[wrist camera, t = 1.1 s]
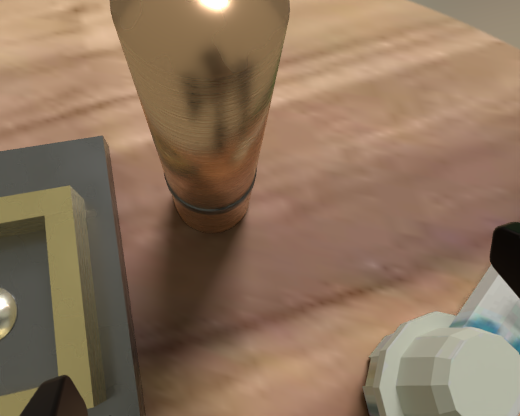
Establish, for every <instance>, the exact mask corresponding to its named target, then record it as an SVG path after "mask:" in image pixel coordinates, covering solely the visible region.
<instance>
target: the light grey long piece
mask: <svg viewBox="0 0 520 416" xmlns="http://www.w3.org/2000/svg"><path fill="white" fill-rule="evenodd" d="M369 358H370V359H371V361H370V366H369V370H368V375H367V380H366V385H365V386H362V387H363V391H364V395H365V399H366V403H367V407H368V411H369V415H370V416H518V414H519V412H520V299H519V298H518V296H517V295H516V294H515V293H514V292H513V290H512V289H511V288H510V287H509V286H508V285H507V283H506V282H505V281H504V280H503V279H502V277H501V276H500V275H499V274H498V273H497V272H496V270H495V269H494V268H493V266H492V264H491V266H490V267H489V269H488V270H487V272H486V273H485V275H484V276H483V278H482V279H481V281H480V282H479V284H478V285H477V287H476V288H475V290H474V291H473V293H472V294H471V295H470V297H469V298H468V300H467V301H466V303H465V304H464V306H463V307H462V309H461V310H460V312H459V313H458V315H457V316H455V315H450V314H446V313H441V312H437V311H436V312H432V313H428V314H426V315H423V316H421V317H418V318H416V319H413V320H410V321H408V322H405V323H403V324H400V326H399V327H398V328H397V330H396V331H395V332H394V333H393V334H390V335H387V336H385V337H384V338H383V339H382V341H381V342H380V343H379V344H378V346H377V347H376V348H375V350H374V351H373V352H372V353H371V355H370V356H369Z"/></svg>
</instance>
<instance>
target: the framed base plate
mask: <svg viewBox="0 0 520 416" xmlns="http://www.w3.org/2000/svg"><path fill="white" fill-rule="evenodd" d="M61 375H68V376H69V377H70V378H71V380H72V381H73V383H74V385H75V386H76V388H77V390H78V391H79V393H80V395H81V396H82V398H83V400H84V402H85V404H86V407H87V411H88V416H145V408H144V401H143V394H142V387H141V379H140V372H139V365H138V357H137V350H136V343H135V335H134V328H133V321H132V313H131V306H130V299H129V292H128V284H127V277H126V270H125V262H124V255H123V248H122V240H121V233H120V226H119V219H118V211H117V204H116V197H115V189H114V182H113V175H112V167H111V160H110V153H109V146H108V144H107V142H106V140H105V139H104V137H103V136H97V137H91V138H84V139H78V140H71V141H65V142H58V143H52V144H45V145H39V146H33V147H26V148H20V149H13V150H7V151H0V416H19V415H20V414H21V412H22V411H23V409H24V408H25V406H26V405H27V404H28V402H29V401H30V399H31V398H32V396H33V395H34V393H35V392H36V390H37V389H38V387H39V386H40V385H41V384H42V383H43V382H45V381H47V380H49V379H52V378H55V377H58V376H61Z"/></svg>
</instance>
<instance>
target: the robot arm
mask: <svg viewBox="0 0 520 416" xmlns="http://www.w3.org/2000/svg"><path fill="white" fill-rule="evenodd" d="M490 262H491V264H492V266H493V268H494V269H495V270H496V272H497V273H498V274H499V275H500V276H501V277H502V279H503V280H504V281H505V282H506V283H507V285H508V286H509V287H510V288H511V289H512V290H513V292H514V293H515V294H516V295H517V296H518V298H519V299H520V223H519V222H510V223H507V224H504V225H501V226H498V227H497V228H495V230H494V232H493V237H492V244H491V251H490ZM19 416H88V411H87V407H86V404H85V402H84V400H83V398H82V396H81V395H80V393H79V391H78V390H77V388H76V386H75V385H74V383H73V381H72V380H71V378H70V377H69V376H68V375H61V376H58V377H55V378H52V379H49V380H47V381H45V382H43V383H42V384H41V385H40V386H39V387H38V389H37V390H36V392H35V393H34V395H33V396H32V398H31V399H30V401H29V402H28V404H27V405H26V406H25V408H24V409H23V411H22V412H21V414H20V415H19Z"/></svg>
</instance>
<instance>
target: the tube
mask: <svg viewBox="0 0 520 416" xmlns="http://www.w3.org/2000/svg"><path fill="white" fill-rule="evenodd" d="M110 9H111V14H112V19H113V22H114V25H115V28H116V31H117V34H118V37H119V40H120V43H121V46H122V49H123V52H124V55H125V58H126V61H127V63H128V66H129V69H130V72H131V75H132V78H133V81H134V84H135V87H136V90H137V93H138V96H139V99H140V102H141V105H142V108H143V111H144V114H145V117H146V120H147V123H148V126H149V129H150V132H151V135H152V138H153V140H154V143H155V146H156V149H157V152H158V155H159V158H160V161H161V164H162V167H163V170H164V176H165V180H166V183H167V185H168V188H169V190H170V192H171V194H172V197H173V200H174V203H175V206H176V209H177V211H178V213H179V215H180V217H181V218H182V219H183V221H184V222H185V223H186V224H188V225H189V226H190V227H192V228H194V229H196V230H198V231H201V232H205V233H219V232H223V231H226V230H228V229H230V228H232V227H234V226H235V225H236V224H237V223H238V222H239V221H240V220H241V219H242V218H243V216H244V215H245V213H246V211H247V208H248V204H249V200H250V195H251V191H252V188H253V185H254V182H255V177H256V171H257V163H258V158H259V154H260V149H261V145H262V140H263V135H264V131H265V126H266V122H267V117H268V112H269V108H270V103H271V99H272V94H273V89H274V85H275V80H276V76H277V71H278V66H279V62H280V57H281V53H282V48H283V43H284V39H285V34H286V30H287V25H288V20H289V13H290V3H289V0H110Z"/></svg>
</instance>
